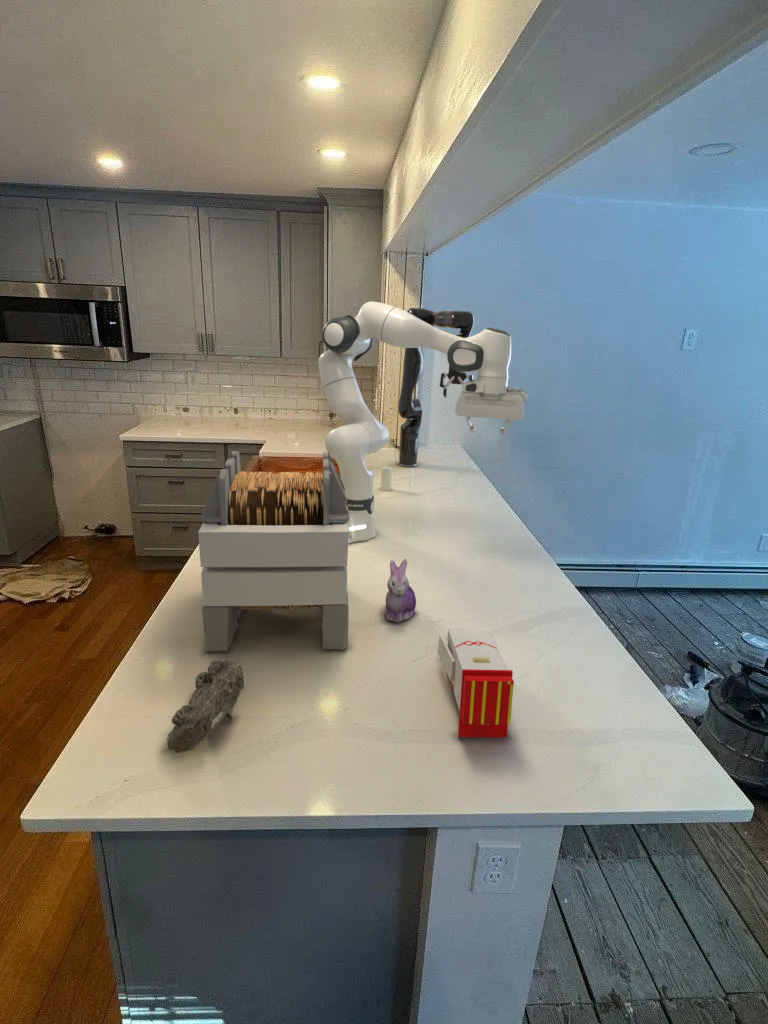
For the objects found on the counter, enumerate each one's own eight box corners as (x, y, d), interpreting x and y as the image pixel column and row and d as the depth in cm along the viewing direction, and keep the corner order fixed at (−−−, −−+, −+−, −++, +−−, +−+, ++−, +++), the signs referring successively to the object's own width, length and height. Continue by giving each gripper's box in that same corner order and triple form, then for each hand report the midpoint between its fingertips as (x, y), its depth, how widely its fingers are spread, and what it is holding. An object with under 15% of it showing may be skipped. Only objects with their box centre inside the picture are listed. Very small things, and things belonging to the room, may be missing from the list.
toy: (488, 613, 130) (523, 677, 101) (484, 667, 133) (517, 744, 104) (435, 612, 130) (455, 676, 101) (432, 666, 133) (451, 743, 103)
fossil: (192, 660, 117) (244, 628, 112) (224, 691, 120) (276, 661, 115) (142, 746, 98) (202, 712, 93) (182, 779, 101) (242, 748, 96)
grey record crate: (225, 584, 158) (217, 441, 145) (342, 583, 162) (345, 443, 148) (202, 654, 127) (189, 479, 113) (348, 650, 131) (352, 481, 117)
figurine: (392, 627, 141) (395, 572, 136) (374, 608, 149) (376, 556, 144) (425, 619, 145) (429, 566, 140) (405, 601, 154) (408, 550, 149)
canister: (385, 491, 245) (386, 469, 242) (378, 488, 249) (379, 467, 245) (393, 489, 248) (394, 468, 245) (386, 487, 252) (387, 465, 248)
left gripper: (527, 387, 168) (521, 433, 173) (458, 382, 171) (454, 428, 176) (528, 390, 162) (522, 437, 167) (456, 385, 166) (452, 431, 170)
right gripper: (440, 359, 242) (437, 398, 248) (473, 361, 239) (470, 400, 244) (443, 358, 249) (440, 395, 255) (475, 360, 246) (472, 398, 251)
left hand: (486, 432), depth 171 cm, fingers open, 8 cm apart
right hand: (455, 398), depth 249 cm, fingers open, 8 cm apart
